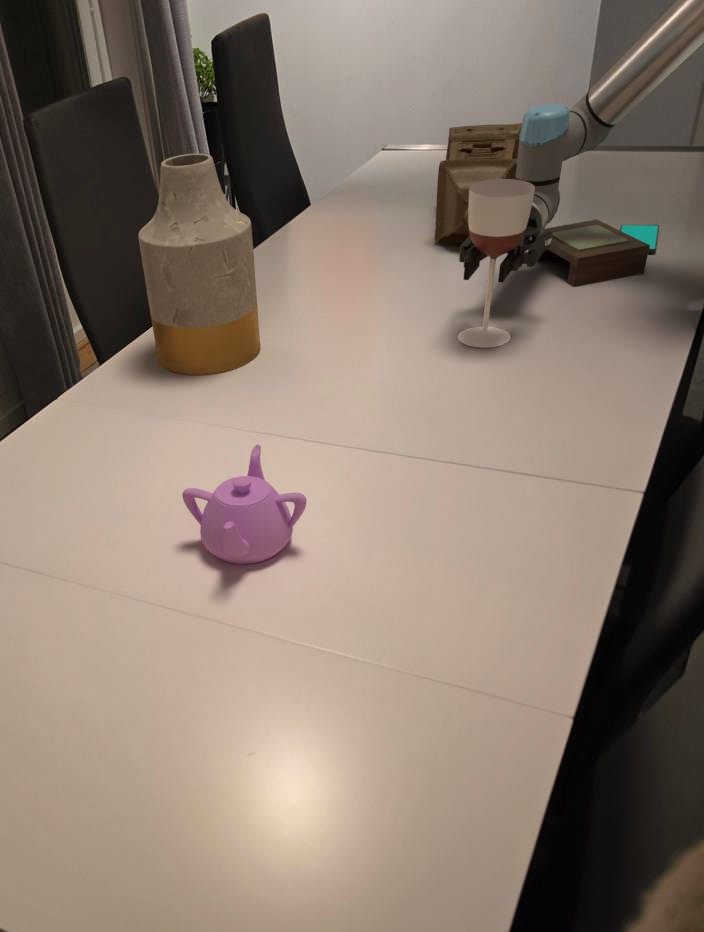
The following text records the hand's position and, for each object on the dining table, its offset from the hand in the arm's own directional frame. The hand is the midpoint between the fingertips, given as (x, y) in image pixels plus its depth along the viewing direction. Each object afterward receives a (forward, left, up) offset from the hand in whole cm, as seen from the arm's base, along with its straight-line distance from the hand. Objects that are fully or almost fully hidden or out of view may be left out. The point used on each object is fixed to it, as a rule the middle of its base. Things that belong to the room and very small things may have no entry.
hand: (484, 272), depth 130 cm
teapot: (-40, +49, -13) cm, 64 cm away
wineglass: (+4, -3, -13) cm, 14 cm away
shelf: (+27, -34, -12) cm, 45 cm away
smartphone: (+34, -50, -12) cm, 62 cm away
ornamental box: (+56, -25, -13) cm, 63 cm away
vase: (+19, +42, -13) cm, 47 cm away
